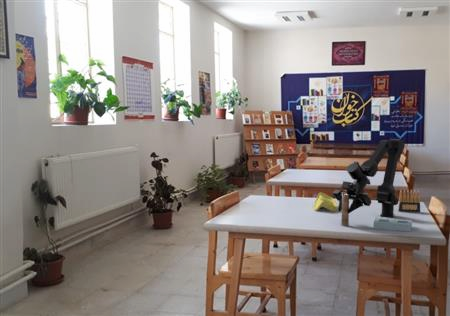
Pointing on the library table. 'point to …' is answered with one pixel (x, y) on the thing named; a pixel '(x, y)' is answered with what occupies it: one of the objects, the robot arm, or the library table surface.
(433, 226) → the library table surface
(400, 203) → the ammunition clip
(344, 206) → the walnut peg
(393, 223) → the peg board
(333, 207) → the plastic component
